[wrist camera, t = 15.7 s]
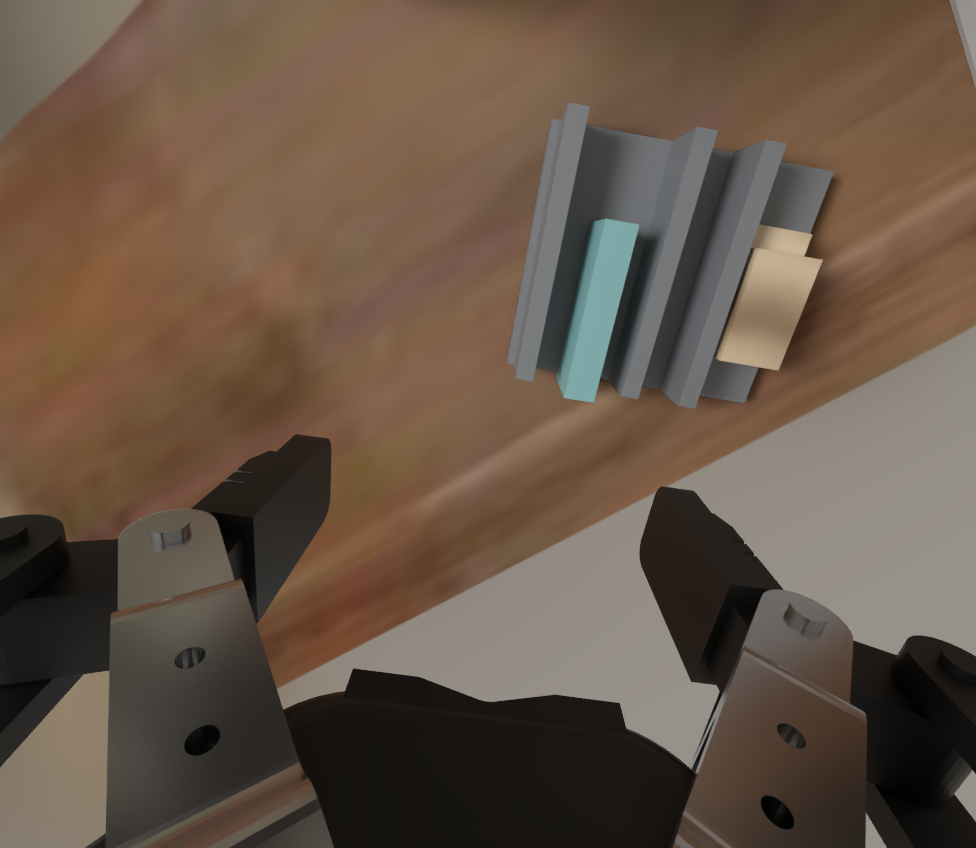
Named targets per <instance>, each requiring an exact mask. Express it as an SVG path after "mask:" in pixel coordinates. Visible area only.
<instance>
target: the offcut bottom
mask: <svg viewBox="0 0 976 848" xmlns="http://www.w3.org/2000/svg"><path fill="white" fill-rule="evenodd" d="M812 235H813V234H809V233H804V232H798V231H793V230H787V229H782V228H776V227H771V226H765V225H760V224H759V226H758V229H757V232H756V235H755V237H754V240H753V243H752V246H751V248H760V249H766V250H771V251H777V252H782V253H788V254H793V255H799V256H804V255H805V253H806V250H807V248H808V245H809V243H810V240H811V237H812Z"/></svg>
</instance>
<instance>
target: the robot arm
mask: <svg viewBox="0 0 976 848" xmlns="http://www.w3.org/2000/svg"><path fill="white" fill-rule="evenodd" d="M330 485H331V443H330V440H329V439H327V438H320V437H313V436H306V435H299V434H296V435H295V436H293V437H292V438H291V439H290V440H289V441H288V442H287V443H286V444H284V445H283V446H282V447H281V448H280V449H279V450H278V451H277V452H276V451H268V452H266V453H263V454H261V455H258V456H256V457H253V458H251V459H249V460H248V461H247V462H246V463H245V464H243V465H242V466H241V467H240V468H239V469H237V472H234V473H233V474H232V475H230V476H229V477H228V478H227V479H226V481H225V482H222V483H221V484H220V485H218V486H217V487H216V488H215V489H214V490H213V491H211V492H210V493H209V494H208V495H207V496H205V497H204V498H203V499H202V500H201V501H200V502H198V503H197V504H196V505H195V506H194V507H192V508H191V509H175V510H168V511H163V512H159V513H155V514H152V515H149V516H146V517H144V518H141V519H139V520H137V521H136V522H134V523H132V524H131V525H129V526H128V527H127V528H126V529H125V530H124V531H123V532H122V533H121V535H120V536H119V539H113V540H97V541H80V542H67V540H66V536H65V531H64V526H63V524H62V522H61V521H60V520H58V519H56V518H54V517H51V516H46V515H34V514H33V515H17V516H10V517H4V518H0V767H1V766H2V765H3V763H4V762H5V761H6V760H7V759H8V758H9V757H10V756H11V754H12V753H13V752H14V751H15V750H16V749H17V748H18V747H19V746H20V744H21V743H22V742H23V741H24V740H25V739H26V738H27V737H28V736H29V734H30V733H31V732H32V731H33V730H34V729H35V728H36V727H37V725H38V724H39V723H40V722H41V721H42V720H43V719H44V718H45V716H46V715H47V714H48V713H49V712H50V711H51V710H52V709H53V708H54V706H55V705H56V704H57V703H58V702H59V701H60V700H61V699H62V698H63V697H64V695H65V694H66V693H67V692H68V691H69V690H70V689H71V688H72V687H73V685H74V684H75V683H76V682H77V681H78V680H79V679H80V678H81V677H82V675H83V674H87V673H94V672H101V671H109V708H108V711H109V713H108V755H107V802H106V803H107V804H106V833H105V834H104V835H102V836H101V837H100V838H98V839H97V840H95V841H94V842H93V843H91V844H90V845H88V846H87V847H86V848H865V837H866V813H867V815H868V816H869V818H870V820H871V821H872V823H873V825H874V826H875V828H876V830H877V832H878V833H879V835H880V837H881V838H882V840H883V842H884V843H885V845H886V847H887V848H976V822H975V820H974V819H973V818H972V816H971V815H970V814H969V813H968V811H967V810H966V809H965V808H964V806H963V805H962V804H961V803H960V801H959V800H958V798H957V797H956V796H955V795H954V793H955V792H956V791H957V789H958V788H959V787H960V785H961V784H962V783H963V781H964V780H965V779H966V778H967V776H968V775H969V774H970V773H971V771H972V770H973V771H974V772H975V773H976V656H974V655H972V654H971V653H969V652H966V651H965V650H963V649H961V648H959V647H957V646H954V645H952V644H950V643H947V642H944V641H942V640H939V639H935V638H932V637H927V636H912V637H910V638H908V639H907V640H906V642H905V644H904V645H903V647H902V649H901V650H900V652H899V653H898V655H894V654H891V653H888V652H885V651H882V650H879V649H877V648H874V647H871V646H868V645H865V644H862V643H859V642H856V641H853V636H852V634H851V631H850V630H849V628H848V627H847V626H846V624H845V623H844V622H843V621H842V620H841V619H840V618H839V617H838V616H837V615H835V614H834V613H833V612H832V611H830V610H829V609H827V608H826V607H824V606H823V605H821V604H819V603H818V602H816V601H814V600H812V599H810V598H808V597H805V596H803V595H800V594H797V593H794V592H790V591H785V590H783V589H782V587H781V586H780V585H779V584H778V582H777V581H776V580H775V579H774V578H773V576H772V575H771V574H770V573H769V571H768V570H767V569H766V568H765V566H764V565H763V564H762V563H761V562H760V560H759V559H758V558H757V557H756V556H754V553H753V552H752V551H751V549H750V548H749V547H748V546H747V544H744V541H743V539H742V538H741V537H740V536H739V535H738V533H737V532H736V531H735V530H734V528H733V527H731V526H730V525H729V524H727V523H726V522H725V521H723V520H722V519H720V518H719V517H718V516H716V515H715V514H712V513H711V512H710V510H709V509H708V508H707V507H706V505H705V504H704V503H703V502H702V500H701V499H700V498H699V496H698V495H697V494H696V493H695V492H694V491H691V490H684V489H676V488H669V487H660V488H659V489H658V490H657V492H656V494H655V497H654V500H653V504H652V507H651V510H650V513H649V517H648V520H647V523H646V526H645V530H644V533H643V536H642V539H641V544H640V562H641V566H642V568H643V571H644V573H645V576H646V578H647V580H648V583H649V585H650V587H651V590H652V592H653V594H654V597H655V599H656V601H657V604H658V606H659V608H660V610H661V613H662V615H663V617H664V620H665V622H666V624H667V627H668V629H669V631H670V634H671V636H672V638H673V640H674V643H675V645H676V648H677V650H678V652H679V654H680V657H681V659H682V661H683V664H684V666H685V668H686V670H687V673H688V675H689V678H690V680H691V682H698V683H705V684H713V685H717V687H718V689H719V691H720V692H719V694H718V696H717V699H716V701H715V703H714V705H713V708H712V710H711V713H710V716H709V718H708V721H707V723H706V726H705V729H704V731H703V733H702V736H701V739H700V741H699V744H698V746H697V749H696V751H695V754H694V756H693V759H692V761H691V764H690V767H687V765H686V764H684V763H683V762H682V761H681V760H680V759H678V758H677V757H676V756H674V755H673V754H671V753H670V752H669V751H667V750H666V749H664V748H663V747H661V746H659V745H658V744H656V743H655V742H653V741H651V740H650V739H648V738H646V737H644V736H642V735H640V734H638V733H636V732H634V731H631V730H628V729H626V726H625V722H624V718H623V714H622V710H621V707H620V703H614V702H607V701H599V700H591V699H583V698H575V697H568V696H560V695H550V696H540V697H532V698H524V699H515V700H506V701H497V702H485V701H481V700H478V699H476V698H473V697H470V696H467V695H465V694H462V693H460V692H457V691H454V690H451V689H449V688H446V687H444V686H441V685H438V684H436V683H433V682H431V681H428V680H426V679H423V678H420V677H414V676H407V675H398V674H391V673H384V672H376V671H368V670H360V669H353V670H352V673H351V676H350V679H349V682H348V685H347V687H346V690H345V691H344V692H337V693H331V694H327V695H322V696H318V697H314V698H311V699H308V700H306V701H303V702H300V703H297V704H295V705H293V706H291V707H288V708H286V709H284V710H283V708H282V705H281V702H280V698H279V695H278V692H277V689H276V686H275V682H274V679H273V676H272V673H271V670H270V666H269V663H268V660H267V657H266V654H265V650H264V647H263V644H262V641H261V638H260V634H259V631H258V628H257V625H256V623H258V622H259V621H260V619H261V617H262V616H263V614H264V613H265V611H266V610H267V608H268V607H269V605H270V604H271V602H272V601H273V599H274V597H275V596H276V594H277V593H278V591H279V590H280V588H281V587H282V585H283V584H284V582H285V581H286V579H287V577H288V576H289V574H290V573H291V571H292V570H293V568H294V567H295V565H296V564H297V562H298V560H299V559H300V557H301V556H302V554H303V553H304V551H305V550H306V548H307V547H308V545H309V544H310V542H311V540H312V539H313V537H314V536H315V534H316V533H317V531H318V530H319V528H320V527H321V525H322V523H323V522H324V520H325V518H326V515H327V512H328V508H329V503H330Z"/></svg>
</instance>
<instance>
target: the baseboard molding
mask: <svg viewBox="0 0 976 848" xmlns="http://www.w3.org/2000/svg"><path fill="white" fill-rule="evenodd" d="M949 1H950V4H951V7H952V11H953V14H954V17H955V21H956V24H957V27H958V31H959V34H960V37H961V41H962V44H963V47H964V51H965V54H966V57H967V61H968V64H969V67H970V71H971V74H972V77H973V81H974V84H975V87H976V0H949Z"/></svg>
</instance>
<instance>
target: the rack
mask: <svg viewBox="0 0 976 848" xmlns="http://www.w3.org/2000/svg"><path fill="white" fill-rule="evenodd" d="M589 109H590V106H585V105H580V104H575V103H568V105H567V107H566V109H565V111H564V113H563V115H562V118H561V120H556V119H552V121H551V124H550V128H549V134H548V139H547V145H546V150H545V156H544V161H543V166H542V172H541V177H540V183H539V188H538V194H537V199H536V205H535V210H534V215H533V221H532V226H531V232H530V237H529V243H528V248H527V254H526V259H525V265H524V270H523V275H522V281H521V286H520V292H519V297H518V303H517V308H516V314H515V319H514V325H513V330H512V335H511V341H510V346H509V352H508V357H507V363H509V364H514V370H515V379H521V380H527V381H533V378H534V374H535V369H536V368H539V369H545V370H550V371H556V372H557V371H558V366H559V362H560V357H561V353H562V348H563V344H564V339H565V335H566V330H567V326H568V321H569V317H570V312H571V308H572V303H573V299H574V294H575V290H576V285H577V281H578V276H579V272H580V267H581V263H582V258H583V254H584V249H585V244H586V240H587V235H588V231H589V226H590V222H594V221H598V220H602V219H610V220H616V221H622V222H627V223H633V224H639V229H638V233H637V236H636V240H635V244H634V248H633V252H632V256H631V260H630V264H629V268H628V272H627V275H626V279H625V283H624V287H623V291H622V295H621V299H620V303H619V307H618V310H617V314H616V318H615V322H614V326H613V330H612V334H611V338H610V342H609V345H608V349H607V353H606V357H605V361H604V365H603V369H602V373H601V377H600V379H604V380H609V382H610V383H611V384H612V385H613V387H614V388H615V389H616V391H617V392H618V393H619V394H620V396H622V397H628V398H634V399H638V398H639V395H640V391H641V388H642V386H645V387H651V388H657V389H660V390H661V391H662V392H664V393H665V394H666V395H667V396H668V397H669V398H670V399H671V400H672V401H673V402H674V403H675V404H677V405H678V406H682V407H688V408H693V409H695V408H696V405H697V402H698V399H699V396H704V397H710V398H716V399H722V400H728V401H734V402H740V403H745V401H746V399H747V396H748V393H749V391H750V388H751V386H752V383H753V380H754V378H755V375H756V373H757V370H758V367H755V366H749V365H743V364H737V363H731V362H725V361H720V360H718V359H716V358H714V357H713V356H714V353H715V350H716V347H717V344H718V341H719V339H720V336H721V333H722V330H723V327H724V324H725V321H726V318H727V315H728V313H729V310H730V307H731V304H732V301H733V298H734V295H735V292H736V289H737V287H738V284H739V281H740V278H741V275H742V272H743V269H744V266H745V263H746V261H747V258H748V255H749V252H750V249H751V246H752V243H753V240H754V237H755V235H756V232H757V229H758V226H759V224H760V225H765V226H771V227H776V228H782V229H787V230H793V231H798V232H804V233H809V234H810V233H811V230H812V227H813V225H814V222H815V220H816V217H817V214H818V212H819V209H820V207H821V204H822V201H823V199H824V196H825V194H826V191H827V188H828V186H829V183H830V181H831V178H832V175H833V173H834V171H829V170H824V169H818V168H813V167H808V166H802V165H797V164H792V163H786V162H781V160H782V157H783V154H784V151H785V148H786V145H787V143H781V142H776V141H771V140H764V141H762V142H759V143H757V144H754V145H751V146H749V147H746V148H744V149H741V150H739V151H736V152H734V153H733V152H728V151H722V150H717V149H713V145H714V142H715V139H716V135H717V132H718V130H712V129H707V128H702V127H696V128H694V129H692V130H691V131H689V132H687V133H686V134H684V135H682V136H681V137H679V138H677V139H676V140H674V141H669V140H663V139H658V138H653V137H647V136H642V135H637V134H631V133H626V132H621V131H615V130H610V129H605V128H599V127H594V126H588V125H586V123H587V118H588V113H589Z"/></svg>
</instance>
